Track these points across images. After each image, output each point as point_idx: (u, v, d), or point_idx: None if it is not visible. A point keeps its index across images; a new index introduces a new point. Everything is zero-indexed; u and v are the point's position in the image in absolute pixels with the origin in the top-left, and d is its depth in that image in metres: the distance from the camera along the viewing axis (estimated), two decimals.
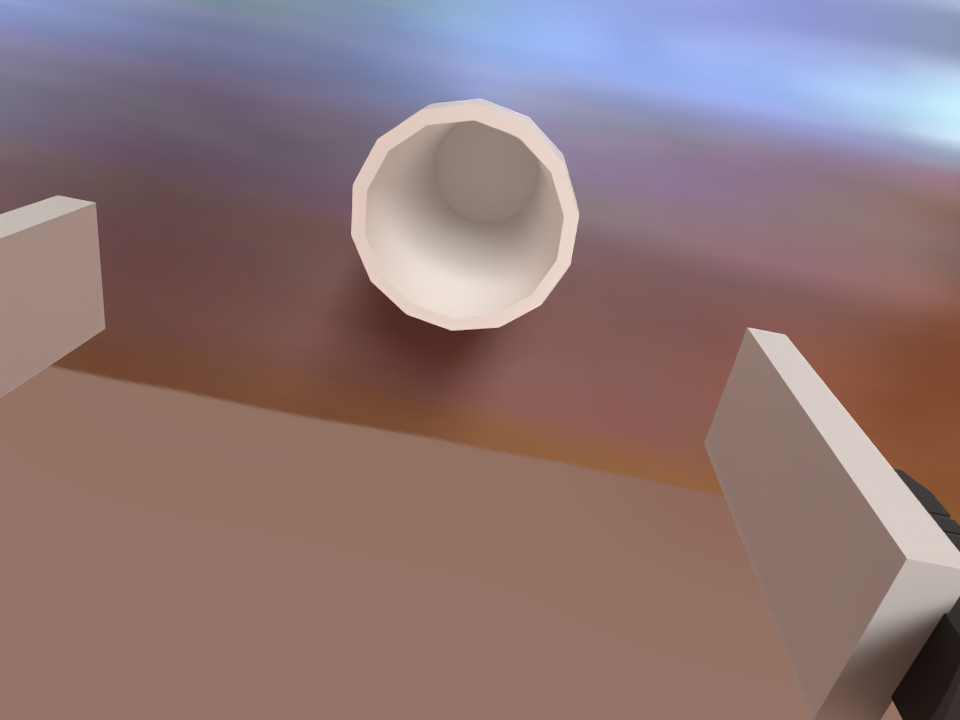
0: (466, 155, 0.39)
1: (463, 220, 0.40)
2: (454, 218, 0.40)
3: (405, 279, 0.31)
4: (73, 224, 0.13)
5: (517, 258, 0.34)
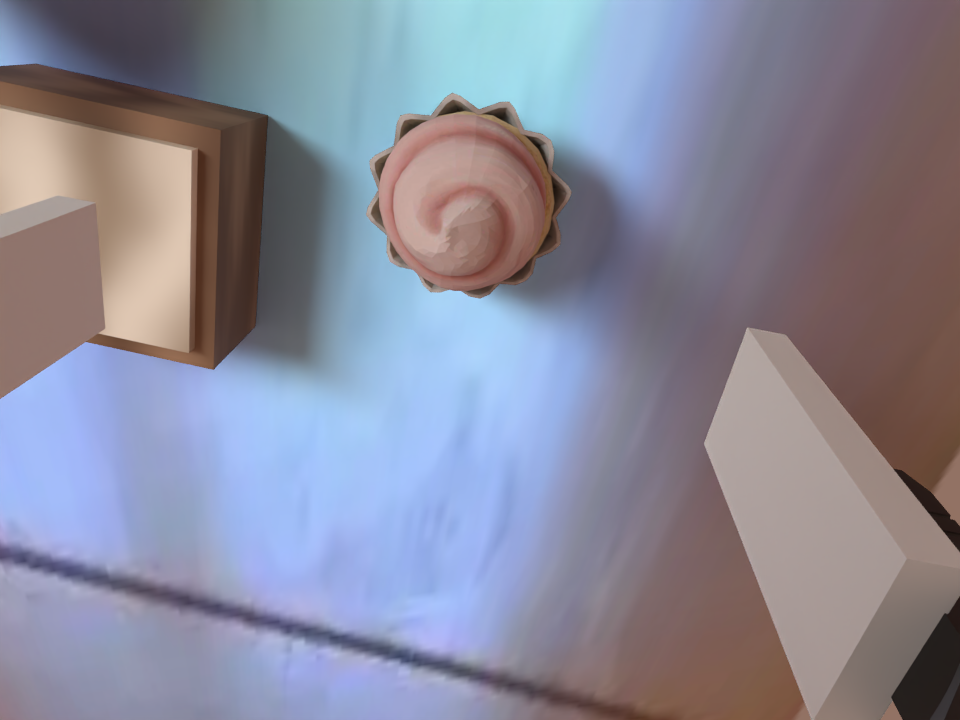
0: None
1: None
2: None
3: None
4: (73, 224, 0.13)
5: None
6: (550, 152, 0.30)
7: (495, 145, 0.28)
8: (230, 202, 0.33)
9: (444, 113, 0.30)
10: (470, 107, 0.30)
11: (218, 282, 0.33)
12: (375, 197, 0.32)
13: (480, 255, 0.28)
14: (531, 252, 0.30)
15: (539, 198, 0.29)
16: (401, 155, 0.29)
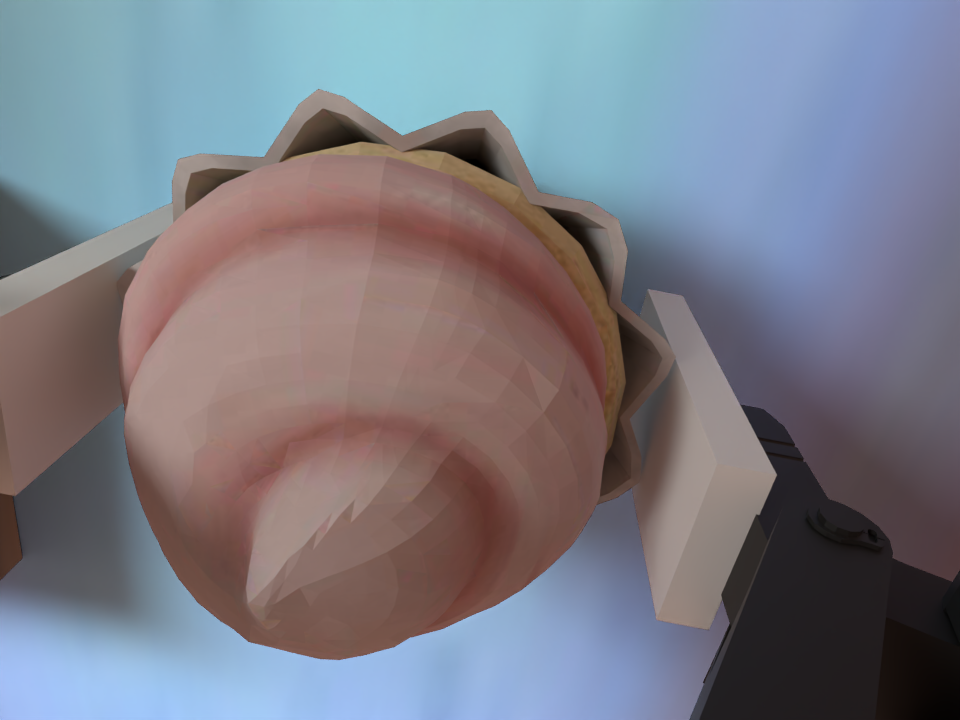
0: None
1: None
2: None
3: None
4: None
5: None
6: (616, 253, 0.10)
7: (443, 262, 0.08)
8: None
9: (309, 149, 0.11)
10: (376, 129, 0.10)
11: None
12: None
13: (407, 629, 0.08)
14: None
15: (593, 413, 0.09)
16: (151, 290, 0.09)
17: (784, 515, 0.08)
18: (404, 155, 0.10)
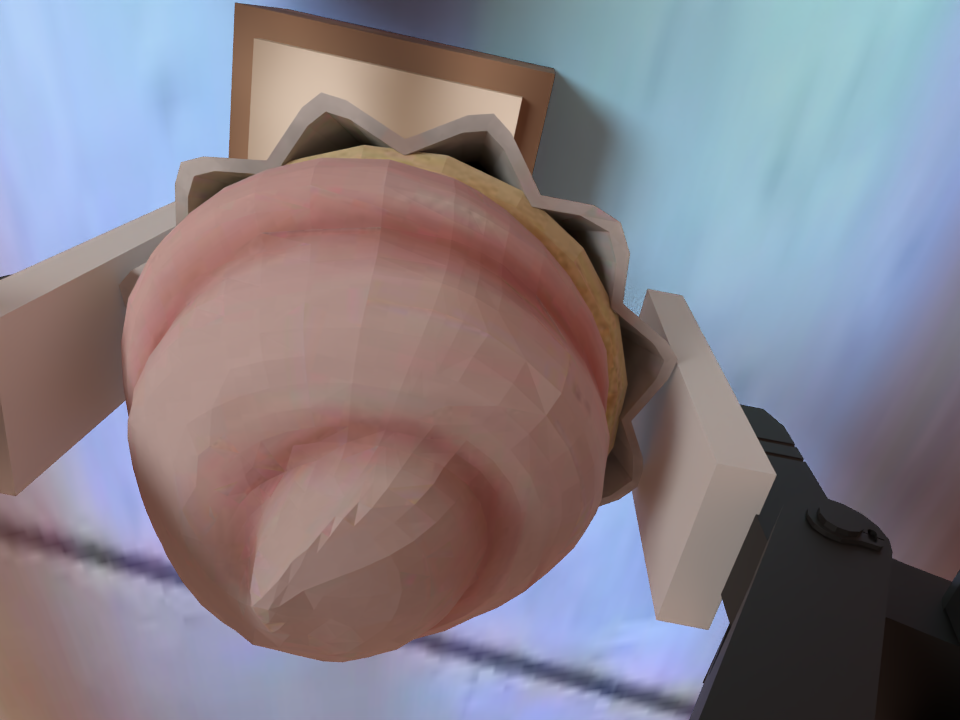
0: None
1: None
2: None
3: None
4: None
5: None
6: (618, 256, 0.10)
7: (446, 266, 0.08)
8: None
9: (311, 152, 0.11)
10: (379, 133, 0.10)
11: None
12: None
13: (410, 632, 0.08)
14: None
15: (595, 417, 0.09)
16: (154, 293, 0.09)
17: (784, 515, 0.08)
18: (407, 158, 0.10)
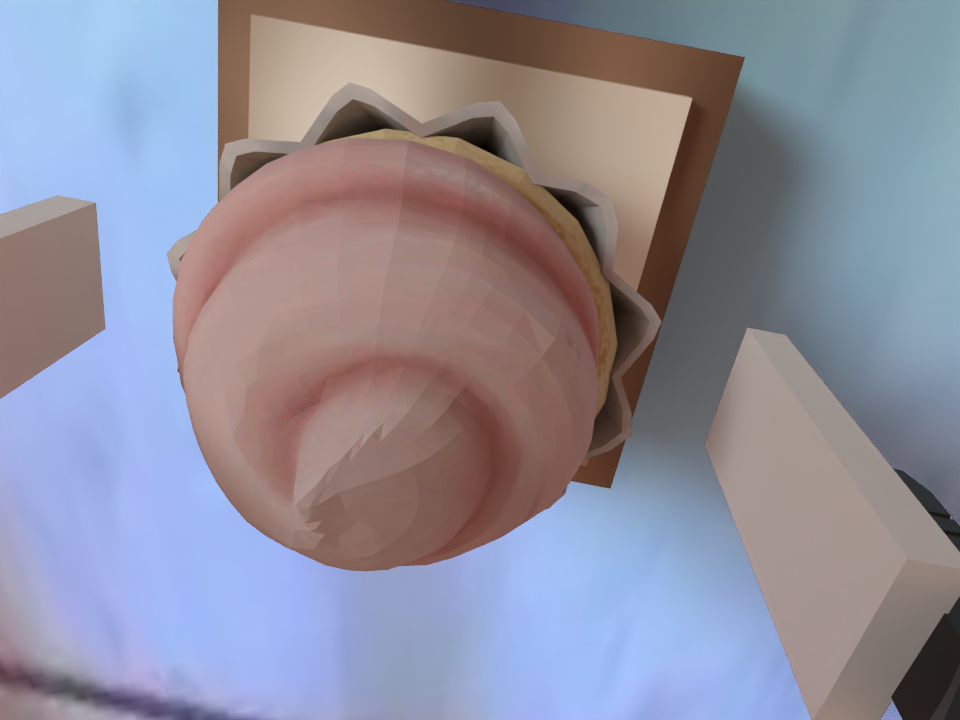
0: None
1: None
2: None
3: None
4: (73, 224, 0.13)
5: None
6: (609, 228, 0.12)
7: (457, 228, 0.10)
8: None
9: (339, 135, 0.12)
10: (398, 117, 0.11)
11: (652, 343, 0.19)
12: None
13: (424, 542, 0.10)
14: (565, 484, 0.12)
15: (586, 363, 0.11)
16: (206, 253, 0.11)
17: None
18: (423, 140, 0.11)
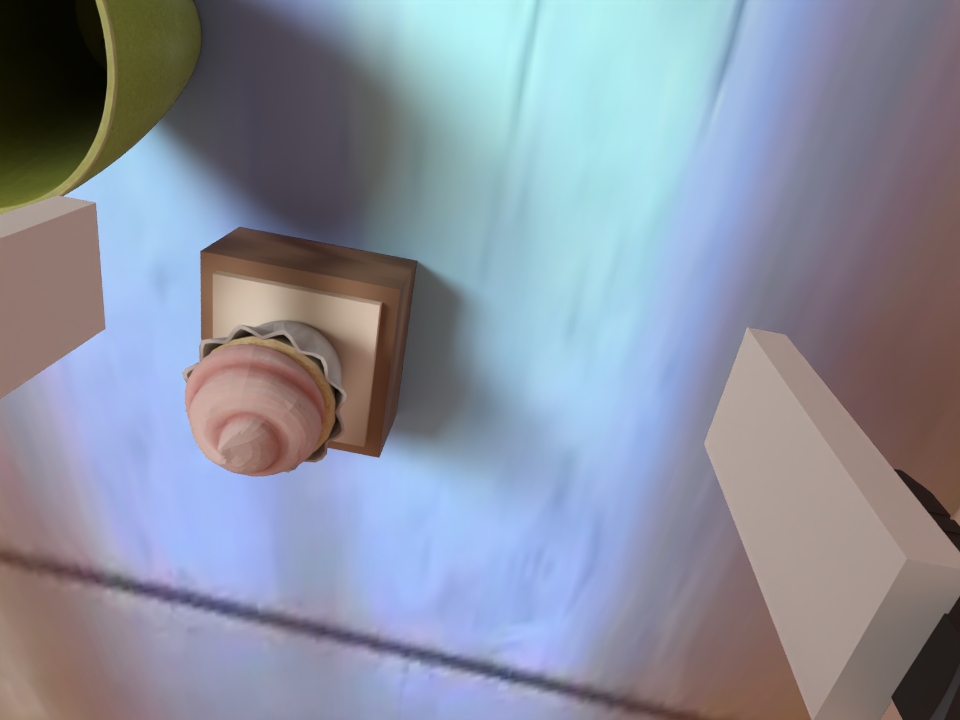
0: None
1: None
2: None
3: None
4: (73, 224, 0.13)
5: None
6: (324, 366, 0.37)
7: (264, 376, 0.35)
8: (398, 334, 0.43)
9: (238, 336, 0.37)
10: (255, 334, 0.36)
11: (388, 394, 0.44)
12: None
13: (257, 463, 0.35)
14: (311, 448, 0.37)
15: (308, 411, 0.36)
16: (195, 380, 0.36)
17: None
18: (263, 340, 0.36)
